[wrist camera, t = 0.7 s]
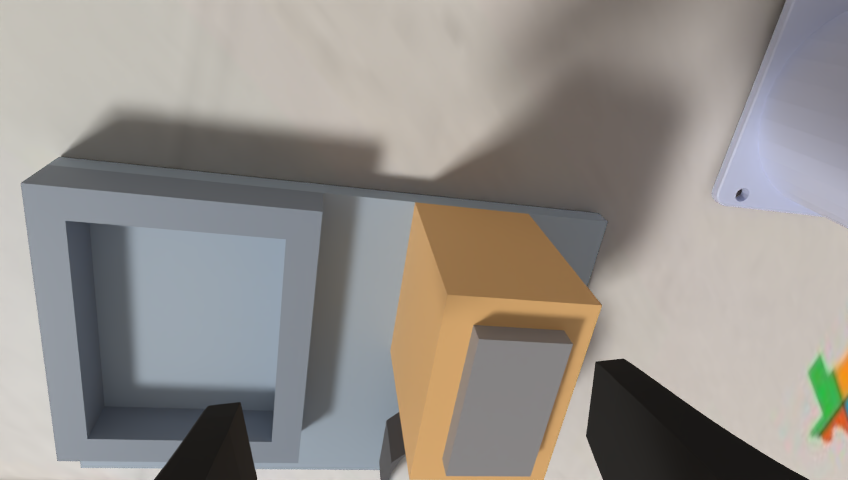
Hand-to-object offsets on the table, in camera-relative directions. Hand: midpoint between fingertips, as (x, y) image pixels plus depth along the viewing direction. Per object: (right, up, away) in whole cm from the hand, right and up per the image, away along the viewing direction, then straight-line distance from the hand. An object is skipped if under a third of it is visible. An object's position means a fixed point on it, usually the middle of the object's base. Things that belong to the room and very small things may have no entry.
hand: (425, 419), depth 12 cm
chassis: (-3, 0, +10) cm, 11 cm away
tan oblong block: (+1, +2, +9) cm, 9 cm away
